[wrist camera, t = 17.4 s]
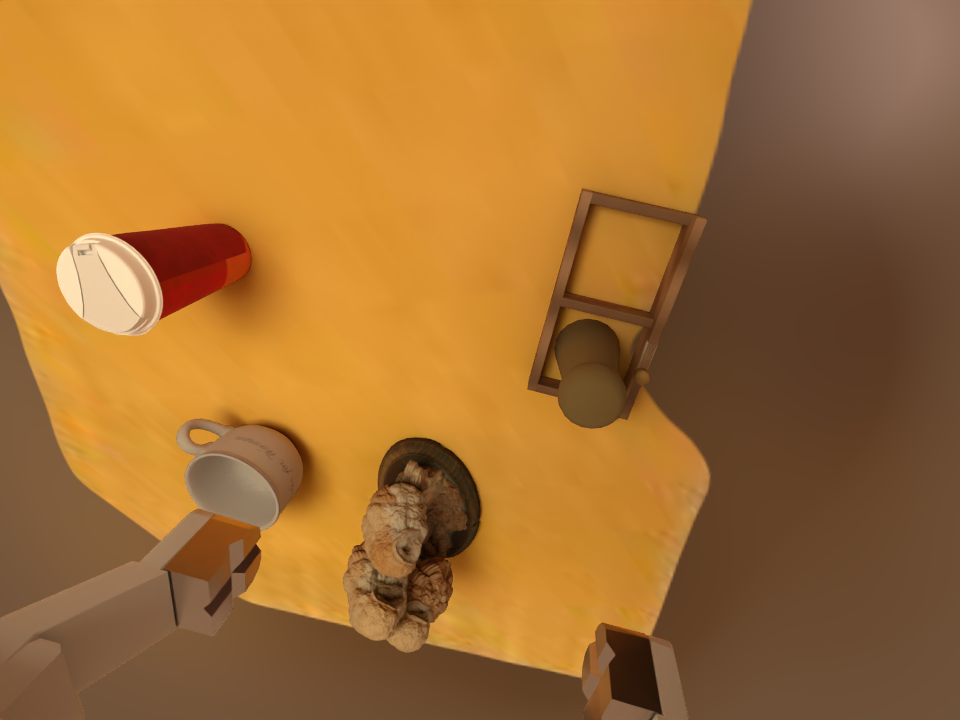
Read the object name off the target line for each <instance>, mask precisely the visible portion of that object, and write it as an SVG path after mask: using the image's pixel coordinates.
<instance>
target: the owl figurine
mask: <svg viewBox="0 0 960 720" xmlns="http://www.w3.org/2000/svg"><path fill="white" fill-rule="evenodd" d="M366 511H367V513H366V515H365V516H364V518H363V521H362V526H361V527H362V532H363V537H364V542H363V543H362V544H361V545H356V546H354V548H353V550H352V555H351V556H350V558H349V561H348V570H347V571H346V573H345V574H344V577H343V586H344V589H345V592H347V596H348V602H349V615H350V620H349V621H350V624H351V625H352V626H353V627H354V628H355V630H357V631H358V632H359V633H360V634H362V635H364V637H367V638H369V639H371V640H384V639H387V640H388V642H389V643H390V644H392V645H393V646H395V647H396V648H397V649H398V650H400V651H404V652H413V651H416V650H418V649H420V647H421V646H422V644H424V643H425V641H426V639H427V638H428V632H429V627H430V623H433V622H434V621H435V619H437V618H438V616H439V615H440V614H442V613H443V612H444V611H445V610H446V608H447V606H448V601H449V598H450V597H451V595H452V592H453V588H452V587H451V586H452V582H453V575H452V570H451V568H450V566H451V563H450V562H448V560H445V559H444V558H450V557H454V556H456V555H458V554H459V553H461V552H462V551H463V550H465V549H466V548H467V547H468V546H469V545H470V544H471V542H472V541H473V539H474V538H475V535H476V533H477V530H478V526H479V520H478V519H479V518H480V501H479V497H478V494H477V490H476V486H475V484H474V481H473V479H472V477H471V475H470V474H469V472H468V470H467V469H466V467H465V466H464V464H463V463H462V462H461V461H460V460H459V459H458V457H456V455H454V453H453V452H451V451H450V450H448V449H446V448H442V447H441V446H440V444H439V443H438V442H436V441H433V440H431V439H425V438H424V439H423V438H409V439H407V438H406V439H404V440H400V441H399V442H397V443H395V444H394V445H393V446H391V448H390V449H389V450H388V451H387V453H386V454H385V456H384V458H383V460H382V463H381V465H380V468H379V473H378V491H376V493H375V494H374V495H373V497H372V498H371V503H370V504H369V506H368V507H367V510H366ZM477 520H478V522H477ZM476 522H477V524H476V525H475V526H474V527H473V525H474V524H475V523H476Z"/></svg>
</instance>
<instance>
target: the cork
mask: <svg viewBox="0 0 960 720" xmlns="http://www.w3.org/2000/svg"><path fill="white" fill-rule="evenodd" d="M554 349H555V356H556V360H557V363H558V367H559V370H560V373H561V377H562V380H561V382H560V384H559V389H558V402H559V406H560V408H561V410H562V411H563V413H564V415H565V416H566V417H567V418H568V419H569V420H570V421H571V422H572V423H574V424H576V425H579V426H581V427H585V428H591V429H592V428H601V427H604V426H607V425H609V424H611V423H613V422H614V421H615V420H617V419H618V418H619V417H620V415H621V414H622V412H623V411H624V408H625V404H626V401H627V391H626V386H625V384H624V382H623V380H622V378H621V376H620V375H619V374H618V364H619V350H620V349H619V340H618V338H617V336H616V334H615V332H614V331H613V330H612V329H611V328H610V327H609V326H608V325H606V324H604V323H602V322H600V321H598V320H592V319H584V320H577V321H575V322H573V323H571V324H569V325H567V326H566V327H565V328H564V329H563V330H562V331H561V332H560V334H559V335H558V337H557V339H556V343H555V348H554Z"/></svg>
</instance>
